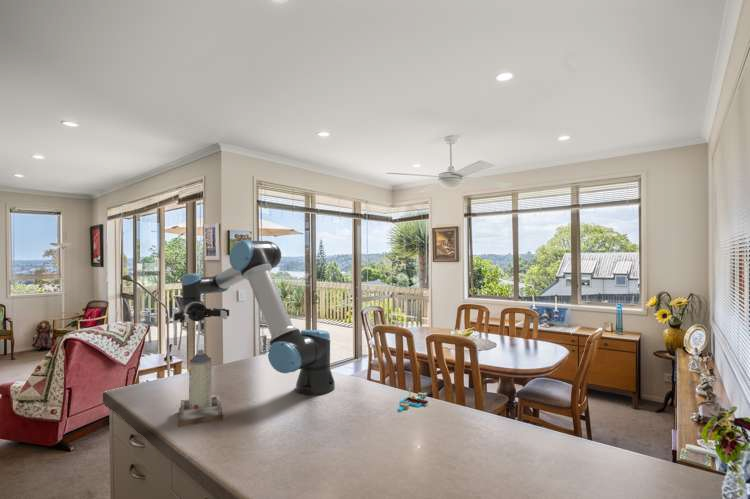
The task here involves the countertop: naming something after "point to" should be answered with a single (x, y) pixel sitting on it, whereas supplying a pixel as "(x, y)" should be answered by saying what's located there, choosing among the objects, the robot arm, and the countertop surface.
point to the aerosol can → (200, 381)
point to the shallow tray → (200, 413)
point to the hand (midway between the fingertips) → (207, 317)
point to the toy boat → (412, 399)
